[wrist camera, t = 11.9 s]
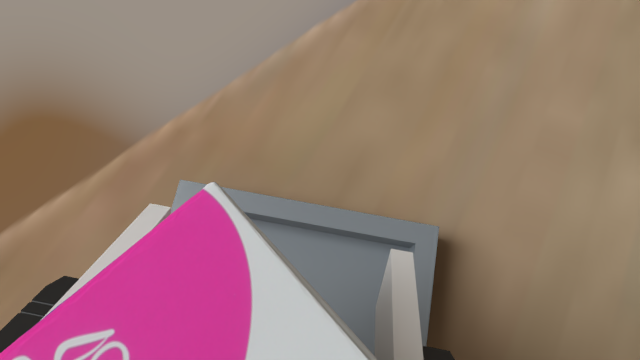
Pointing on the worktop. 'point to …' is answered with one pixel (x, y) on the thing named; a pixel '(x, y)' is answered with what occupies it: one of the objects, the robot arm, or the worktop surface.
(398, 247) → the tray
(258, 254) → the supplement box
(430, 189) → the worktop surface
